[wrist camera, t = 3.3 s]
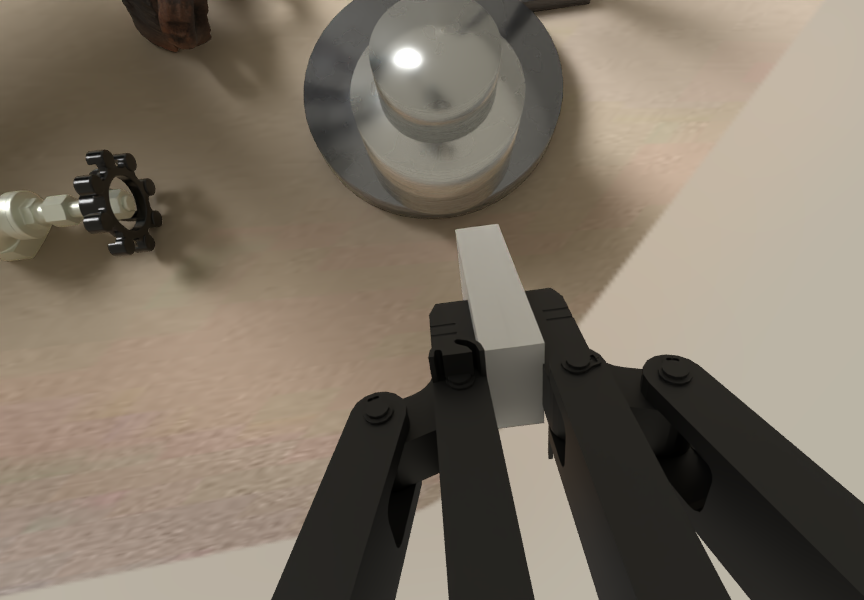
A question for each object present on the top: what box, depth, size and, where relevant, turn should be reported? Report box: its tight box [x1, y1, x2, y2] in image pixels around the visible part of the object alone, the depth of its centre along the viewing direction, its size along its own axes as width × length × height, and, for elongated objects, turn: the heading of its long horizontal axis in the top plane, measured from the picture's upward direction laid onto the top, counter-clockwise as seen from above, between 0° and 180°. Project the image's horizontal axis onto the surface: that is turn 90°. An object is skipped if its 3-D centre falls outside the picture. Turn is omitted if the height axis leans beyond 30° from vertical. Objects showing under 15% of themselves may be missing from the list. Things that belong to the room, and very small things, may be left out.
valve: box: [0, 150, 162, 261], centre depth 29 cm, size 7×7×12 cm
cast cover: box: [350, 0, 525, 215], centre depth 26 cm, size 9×9×9 cm
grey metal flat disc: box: [304, 0, 563, 219], centre depth 32 cm, size 17×17×2 cm
